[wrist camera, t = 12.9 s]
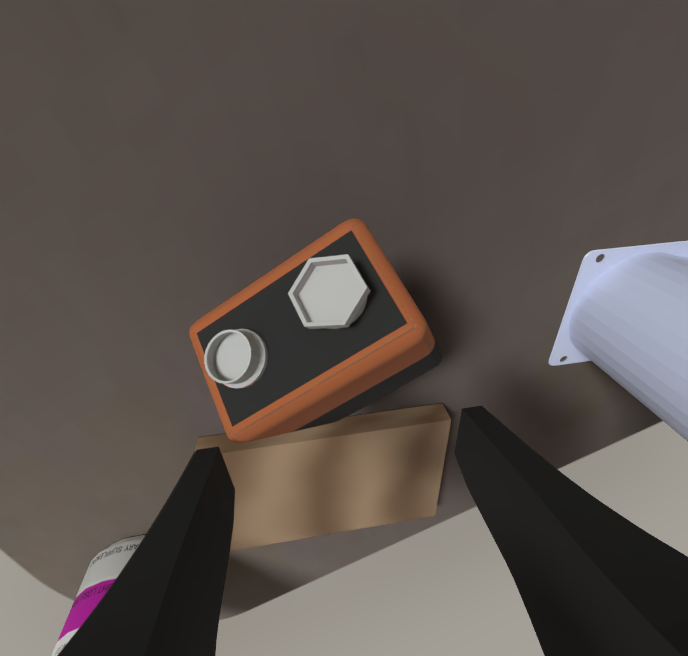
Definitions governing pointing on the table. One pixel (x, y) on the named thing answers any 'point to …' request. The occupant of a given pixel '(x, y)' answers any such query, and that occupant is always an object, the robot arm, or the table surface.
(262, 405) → the battery
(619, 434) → the table surface
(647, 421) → the table surface
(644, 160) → the table surface
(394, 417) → the wooden flat block
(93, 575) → the supplement can
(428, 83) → the table surface
